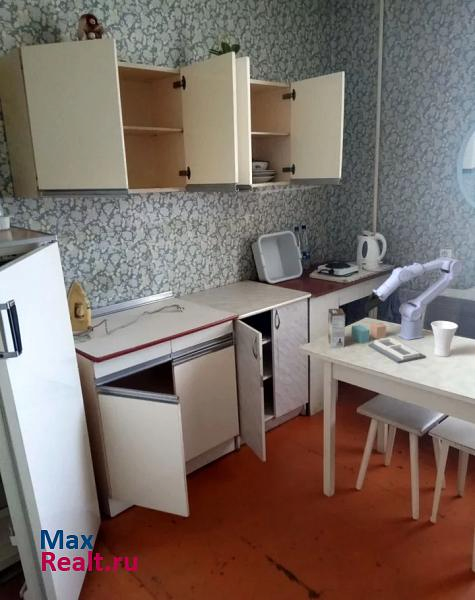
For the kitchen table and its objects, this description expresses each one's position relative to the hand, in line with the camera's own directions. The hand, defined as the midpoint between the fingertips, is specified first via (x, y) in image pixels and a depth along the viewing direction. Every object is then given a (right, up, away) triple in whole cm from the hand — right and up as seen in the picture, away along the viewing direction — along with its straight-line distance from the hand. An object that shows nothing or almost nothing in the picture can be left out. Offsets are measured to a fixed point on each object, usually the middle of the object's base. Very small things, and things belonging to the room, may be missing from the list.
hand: (365, 309), depth 214 cm
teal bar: (-1, -15, +7) cm, 16 cm away
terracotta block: (+9, -13, +10) cm, 19 cm away
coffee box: (-13, -16, +3) cm, 21 cm away
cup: (+29, -19, -12) cm, 37 cm away
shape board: (+11, -19, -8) cm, 23 cm away
